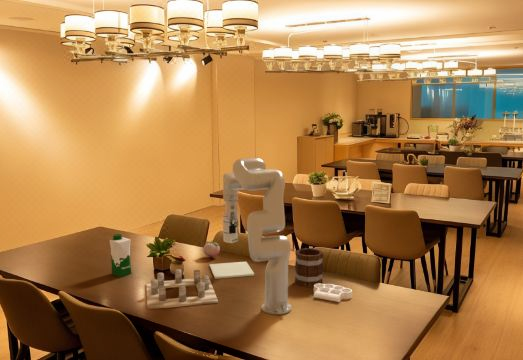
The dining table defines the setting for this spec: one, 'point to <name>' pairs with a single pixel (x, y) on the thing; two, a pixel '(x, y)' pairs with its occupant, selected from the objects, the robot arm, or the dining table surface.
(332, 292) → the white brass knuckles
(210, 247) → the decorative fruit
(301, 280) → the mug
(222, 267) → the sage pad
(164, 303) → the post board
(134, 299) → the dining table surface
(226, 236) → the syrup box
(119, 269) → the milk carton
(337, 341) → the dining table surface
